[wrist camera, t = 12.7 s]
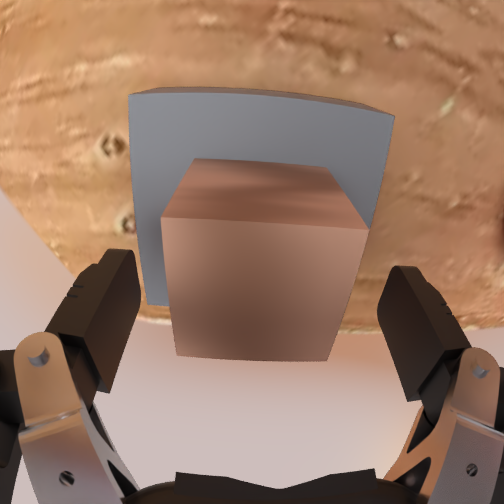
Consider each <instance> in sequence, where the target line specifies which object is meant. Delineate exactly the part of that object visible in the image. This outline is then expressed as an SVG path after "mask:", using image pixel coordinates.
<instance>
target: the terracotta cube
mask: <svg viewBox="0 0 504 504" xmlns="http://www.w3.org/2000/svg"><path fill="white" fill-rule="evenodd" d="M161 230H162V241H163V252H164V263H165V272H166V281H167V290H168V298H169V306H170V313H171V321H172V328H173V334H174V341H175V347H176V353H177V356H187V357H200V358H212V359H228V360H250V361H251V360H252V361H327V359H328V357H329V354H330V351H331V349H332V346H333V343H334V341H335V338H336V335H337V333H338V330H339V327H340V324H341V321H342V318H343V315H344V313H345V310H346V307H347V304H348V301H349V298H350V294H351V291H352V288H353V285H354V282H355V279H356V275H357V272H358V269H359V266H360V262H361V259H362V255H363V252H364V248H365V245H366V241H367V238H368V234H369V229H368V227H367V226H366V224H365V222H364V221H363V219H362V218H361V216H360V215H359V213H358V212H357V210H356V209H355V207H354V206H353V204H352V203H351V201H350V200H349V199H348V197H347V196H346V194H345V193H344V191H343V190H342V188H341V187H340V186H339V184H338V183H337V181H336V180H335V179H334V177H333V176H332V174H331V173H330V172H329V170H328V169H327V167H318V166H308V165H298V164H287V163H275V162H261V161H246V160H227V159H200V158H194V160H193V161H192V163H191V165H190V166H189V168H188V170H187V171H186V173H185V175H184V177H183V178H182V180H181V182H180V183H179V185H178V187H177V189H176V190H175V192H174V194H173V196H172V197H171V199H170V201H169V203H168V205H167V206H166V208H165V210H164V212H163V214H162V216H161Z"/></svg>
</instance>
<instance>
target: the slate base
mask: <svg viewBox="0 0 504 504" xmlns="http://www.w3.org/2000/svg"><path fill="white" fill-rule="evenodd" d="M128 102H129V142H130V162H131V177H132V190H133V201H134V211H135V221H136V230H137V238H138V246H139V253H140V260H141V267H142V274H143V280H144V287H145V293H146V298H147V304H148V305H159V306H169V298H168V290H167V281H166V272H165V263H164V252H163V241H162V230H161V216H162V214H163V212H164V210H165V208H166V206H167V205H168V203H169V201H170V199H171V197H172V196H173V194H174V192H175V190H176V189H177V187H178V185H179V183H180V182H181V180H182V178H183V177H184V175H185V173H186V171H187V170H188V168H189V166H190V165H191V163H192V161H193V160H194V158H200V159H227V160H246V161H261V162H275V163H287V164H298V165H308V166H318V167H327V169H328V170H329V172H330V173H331V174H332V176H333V177H334V179H335V180H336V181H337V183H338V184H339V186H340V187H341V188H342V190H343V191H344V193H345V194H346V196H347V197H348V199H349V200H350V201H351V203H352V204H353V206H354V207H355V209H356V210H357V212H358V213H359V215H360V216H361V218H362V219H363V221H364V222H365V224H366V226H367V227H368V229H369V230H370V227H371V223H372V219H373V215H374V211H375V207H376V203H377V199H378V195H379V191H380V187H381V183H382V178H383V174H384V169H385V165H386V160H387V155H388V150H389V145H390V140H391V135H392V129H393V124H394V118H395V116H393V115H391V114H388V113H386V112H383V111H380V110H378V109H375V108H372V107H370V106H367V105H364V104H361V103H356V102H350V101H345V100H339V99H333V98H327V97H320V96H313V95H306V94H298V93H290V92H280V91H270V90H257V89H242V88H220V87H167V88H155V89H150V90H146V91H142V92H137V93H133V94H130V95H128Z"/></svg>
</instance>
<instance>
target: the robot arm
mask: <svg viewBox="0 0 504 504" xmlns="http://www.w3.org/2000/svg"><path fill="white" fill-rule="evenodd" d="M140 302H141V290H140V284H139V278H138V273H137V267H136V261H135V255H134V252H133V251H132V250H125V249H108V250H107V251H106V252H105V254H104V255H103V257H102V258H101V260H100V261H99V263H98V264H91V265H90V266H89V267H88V268H86V269H85V270H84V271H82V272H81V273H80V274H79V276H78V277H77V279H76V280H75V282H74V283H73V287H71V288H70V290H69V291H68V293H67V297H65V298H64V299H63V301H62V303H61V304H60V306H59V307H58V309H57V311H56V312H55V314H54V316H53V318H52V319H51V321H50V323H49V324H48V326H47V328H46V330H45V331H44V332H38V333H34V334H32V335H29V336H28V337H26V338H25V339H24V340H22V341H21V342H20V343H19V345H18V346H17V348H16V350H2V351H0V504H11V500H12V495H13V490H14V486H15V481H16V476H17V472H18V468H19V464H20V460H21V456H22V455H23V458H24V462H25V465H26V468H27V471H28V475H29V478H30V481H31V483H32V486H33V489H34V492H35V494H36V497H37V500H38V503H39V504H504V368H503V367H499V366H498V364H497V362H496V360H495V359H494V357H493V356H491V354H489V353H488V352H487V351H485V350H483V349H481V348H475V347H471V345H470V343H469V341H468V339H467V338H466V336H465V334H464V332H463V330H462V329H461V327H460V325H459V323H458V322H457V320H456V318H455V317H454V315H452V312H451V310H450V308H449V307H448V306H446V304H447V303H446V302H445V300H444V299H443V297H442V295H441V294H440V292H439V291H438V290H436V289H435V288H434V287H433V286H432V285H431V284H430V283H429V282H427V281H426V280H425V278H424V277H423V275H422V273H421V272H420V270H419V269H418V268H417V267H414V266H394V267H393V268H392V269H391V271H390V274H389V277H388V279H387V282H386V285H385V287H384V290H383V293H382V295H381V298H380V300H379V303H378V308H377V317H378V321H379V324H380V327H381V329H382V332H383V334H384V337H385V340H386V342H387V345H388V348H389V350H390V353H391V356H392V358H393V361H394V364H395V367H396V370H397V372H398V375H399V378H400V381H401V384H402V387H403V390H404V393H405V396H406V399H407V402H409V401H416V400H422V404H423V405H422V406H421V408H420V409H419V411H418V413H417V416H416V418H415V421H414V423H413V426H412V428H411V431H410V433H409V435H408V438H407V440H406V443H405V445H404V447H403V449H402V451H401V453H400V455H399V457H398V459H397V461H396V462H395V464H394V465H393V466H392V467H391V468H390V470H389V471H388V472H387V474H386V475H385V477H384V478H383V479H377V478H376V475H375V469H374V468H373V469H368V470H361V471H354V472H347V473H338V474H330V475H327V476H324V477H321V478H318V479H315V480H312V481H308V482H305V483H302V484H298V485H295V486H291V487H288V488H284V489H275V488H270V487H265V486H261V485H257V484H252V483H248V482H244V481H240V480H236V479H233V478H229V477H223V476H209V475H198V474H189V473H180V472H176V478H175V481H173V482H165V483H160V484H155V485H152V486H149V487H146V488H143V489H141V490H140V488H139V487H138V485H137V483H136V482H135V480H134V478H133V477H132V475H131V473H130V472H129V470H128V469H127V467H126V466H125V464H124V463H123V461H122V460H121V458H120V456H119V455H118V453H117V451H116V449H115V447H114V445H113V443H112V441H111V439H110V437H109V435H108V433H107V430H106V428H105V426H104V424H103V422H102V419H101V417H100V415H99V413H98V410H97V408H96V406H95V404H94V402H93V400H94V397H95V394H96V391H100V392H105V393H110V391H111V388H112V385H113V381H114V378H115V375H116V372H117V369H118V366H119V363H120V360H121V357H122V354H123V352H124V349H125V346H126V343H127V341H128V338H129V335H130V332H131V329H132V326H133V324H134V321H135V319H136V316H137V313H138V311H139V308H140Z"/></svg>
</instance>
